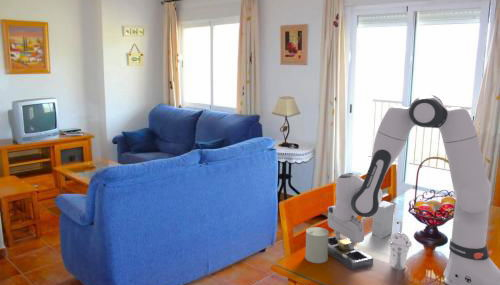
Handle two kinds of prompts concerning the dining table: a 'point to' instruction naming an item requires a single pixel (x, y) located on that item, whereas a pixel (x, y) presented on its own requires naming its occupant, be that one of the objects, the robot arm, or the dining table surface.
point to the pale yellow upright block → (343, 245)
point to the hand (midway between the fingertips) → (344, 244)
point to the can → (316, 245)
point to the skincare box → (383, 219)
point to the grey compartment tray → (349, 255)
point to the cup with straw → (399, 248)
